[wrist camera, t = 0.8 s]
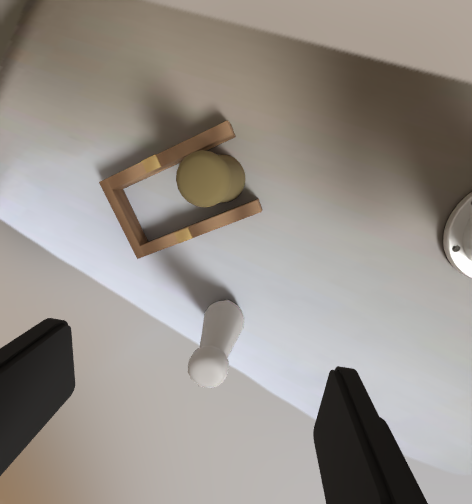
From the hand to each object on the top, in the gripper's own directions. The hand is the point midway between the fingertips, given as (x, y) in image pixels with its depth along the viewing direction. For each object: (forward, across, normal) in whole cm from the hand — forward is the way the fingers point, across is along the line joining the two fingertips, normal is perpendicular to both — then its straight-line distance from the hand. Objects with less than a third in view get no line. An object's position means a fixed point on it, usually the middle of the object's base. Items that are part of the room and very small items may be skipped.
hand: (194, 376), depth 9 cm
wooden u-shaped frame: (+27, +8, -4) cm, 28 cm away
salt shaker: (+27, +1, +13) cm, 30 cm away
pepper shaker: (+27, +4, -6) cm, 28 cm away
